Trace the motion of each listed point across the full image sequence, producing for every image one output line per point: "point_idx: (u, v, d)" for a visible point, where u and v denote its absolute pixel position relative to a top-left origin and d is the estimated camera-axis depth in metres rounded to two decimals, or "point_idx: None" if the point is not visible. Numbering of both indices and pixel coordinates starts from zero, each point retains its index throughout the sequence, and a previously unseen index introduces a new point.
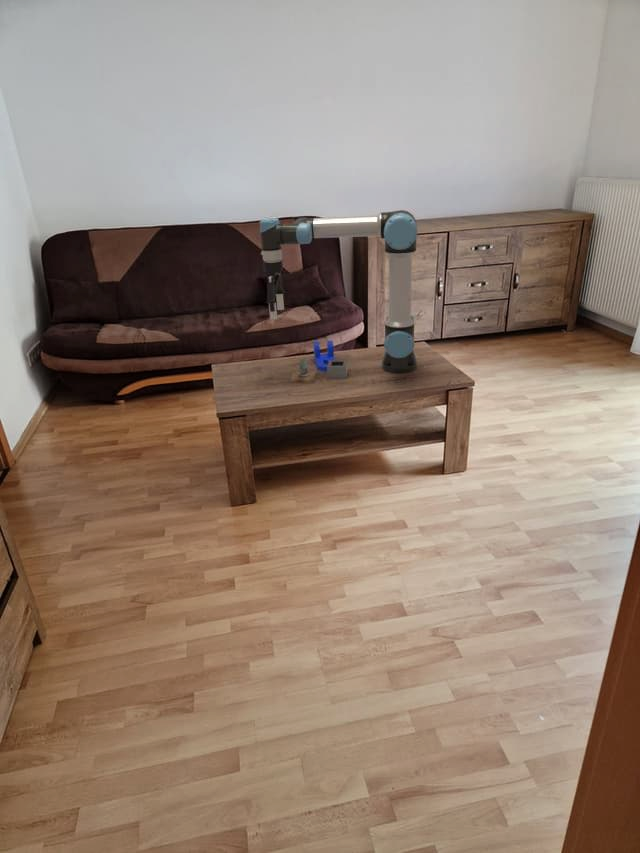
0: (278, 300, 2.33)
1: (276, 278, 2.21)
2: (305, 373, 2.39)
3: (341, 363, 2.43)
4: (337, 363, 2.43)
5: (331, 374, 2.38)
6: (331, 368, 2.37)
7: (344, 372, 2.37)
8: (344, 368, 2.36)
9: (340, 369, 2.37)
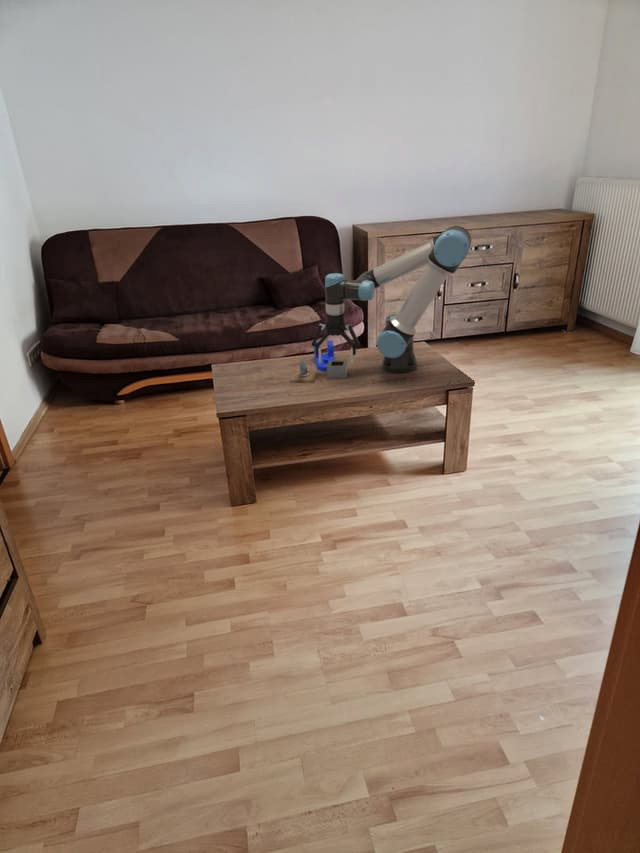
0: None
1: (330, 329, 2.32)
2: (305, 373, 2.39)
3: (341, 363, 2.43)
4: (337, 363, 2.43)
5: (331, 374, 2.38)
6: (331, 368, 2.37)
7: (344, 372, 2.37)
8: (344, 368, 2.36)
9: (340, 369, 2.37)
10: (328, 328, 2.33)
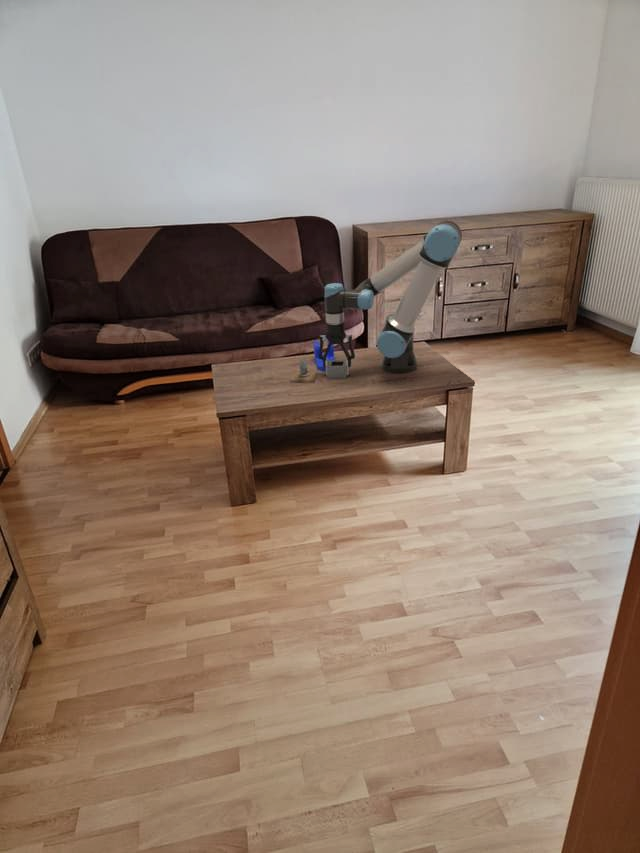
0: None
1: (330, 338, 2.34)
2: (305, 373, 2.39)
3: (341, 363, 2.43)
4: (337, 363, 2.43)
5: (331, 374, 2.38)
6: (331, 368, 2.37)
7: (344, 372, 2.37)
8: (344, 368, 2.36)
9: (340, 369, 2.37)
10: (329, 337, 2.34)
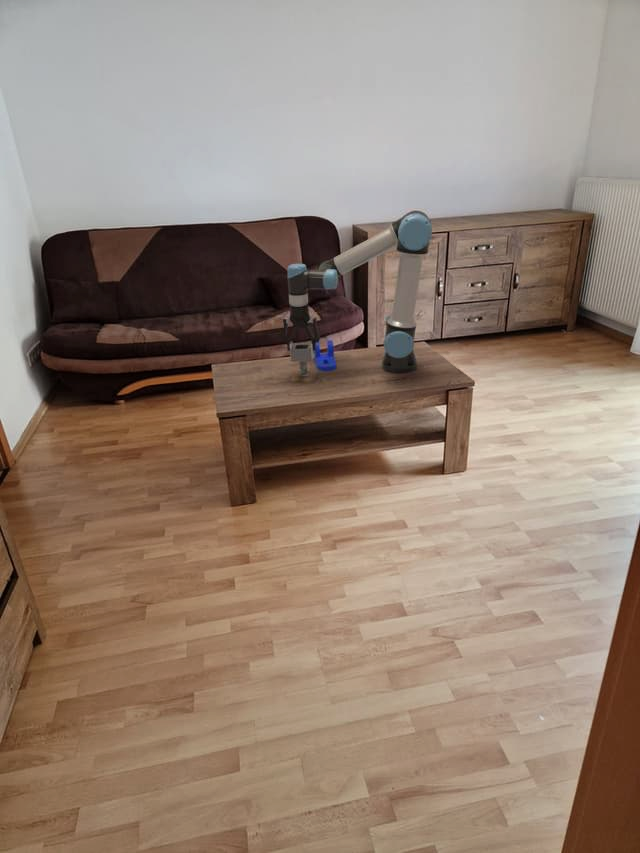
0: None
1: (294, 321, 2.29)
2: (305, 373, 2.39)
3: (306, 347, 2.37)
4: (302, 346, 2.37)
5: (295, 357, 2.33)
6: (295, 351, 2.32)
7: (308, 355, 2.32)
8: (308, 351, 2.31)
9: (304, 352, 2.31)
10: (293, 319, 2.29)
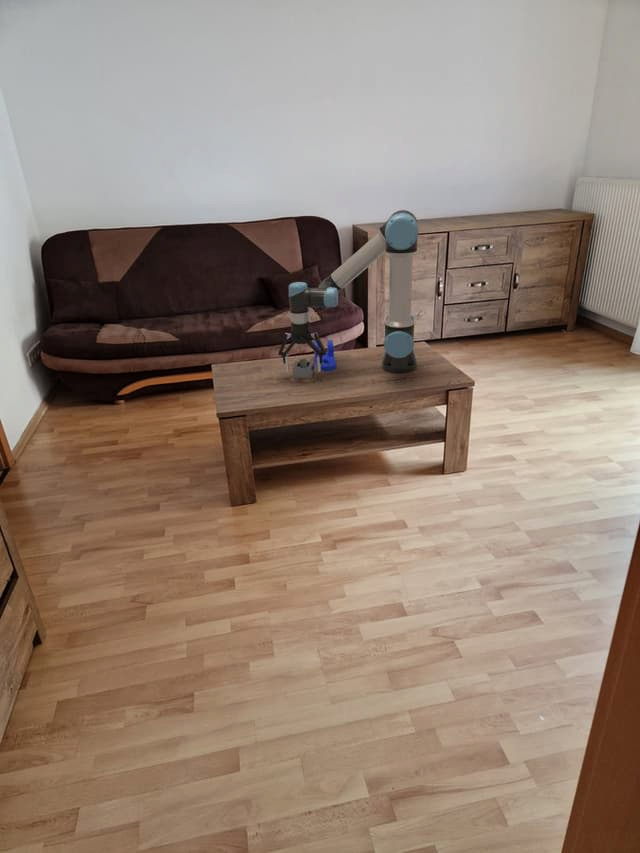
0: None
1: (295, 337, 2.32)
2: None
3: (307, 364, 2.41)
4: None
5: (297, 375, 2.36)
6: (297, 369, 2.35)
7: (310, 373, 2.35)
8: (309, 369, 2.34)
9: (306, 370, 2.35)
10: (294, 337, 2.32)
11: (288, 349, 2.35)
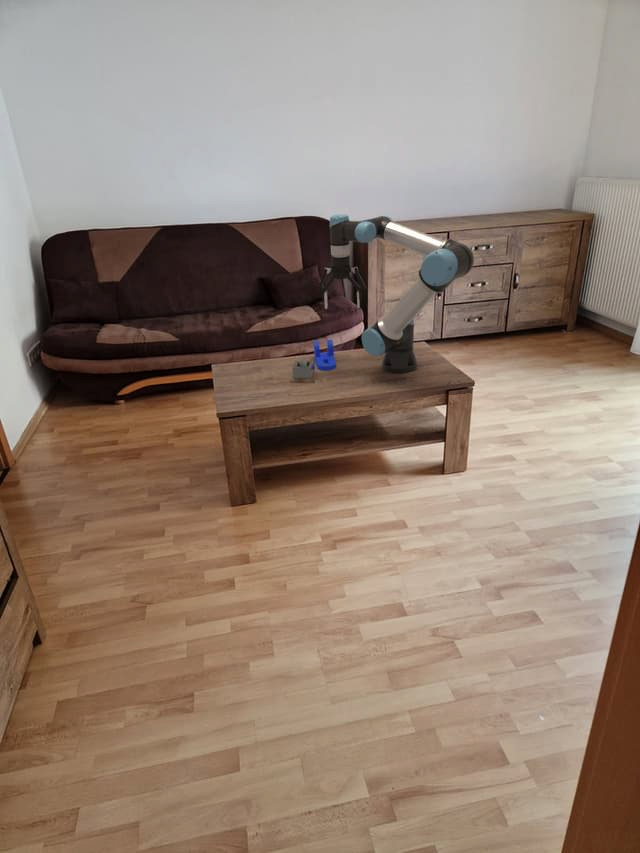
0: None
1: (335, 272, 2.30)
2: None
3: (307, 364, 2.41)
4: None
5: (297, 375, 2.36)
6: (297, 369, 2.35)
7: (310, 373, 2.35)
8: (309, 369, 2.34)
9: (306, 370, 2.35)
10: (334, 271, 2.31)
11: (327, 284, 2.33)
